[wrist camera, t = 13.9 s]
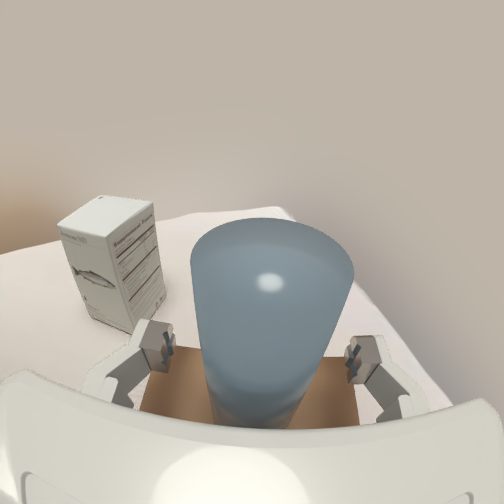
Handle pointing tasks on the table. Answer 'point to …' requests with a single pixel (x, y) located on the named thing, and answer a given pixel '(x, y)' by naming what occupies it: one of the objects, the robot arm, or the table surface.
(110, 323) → the supplement box
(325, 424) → the plate
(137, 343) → the robot arm
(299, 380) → the slate cylinder
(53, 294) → the table surface
